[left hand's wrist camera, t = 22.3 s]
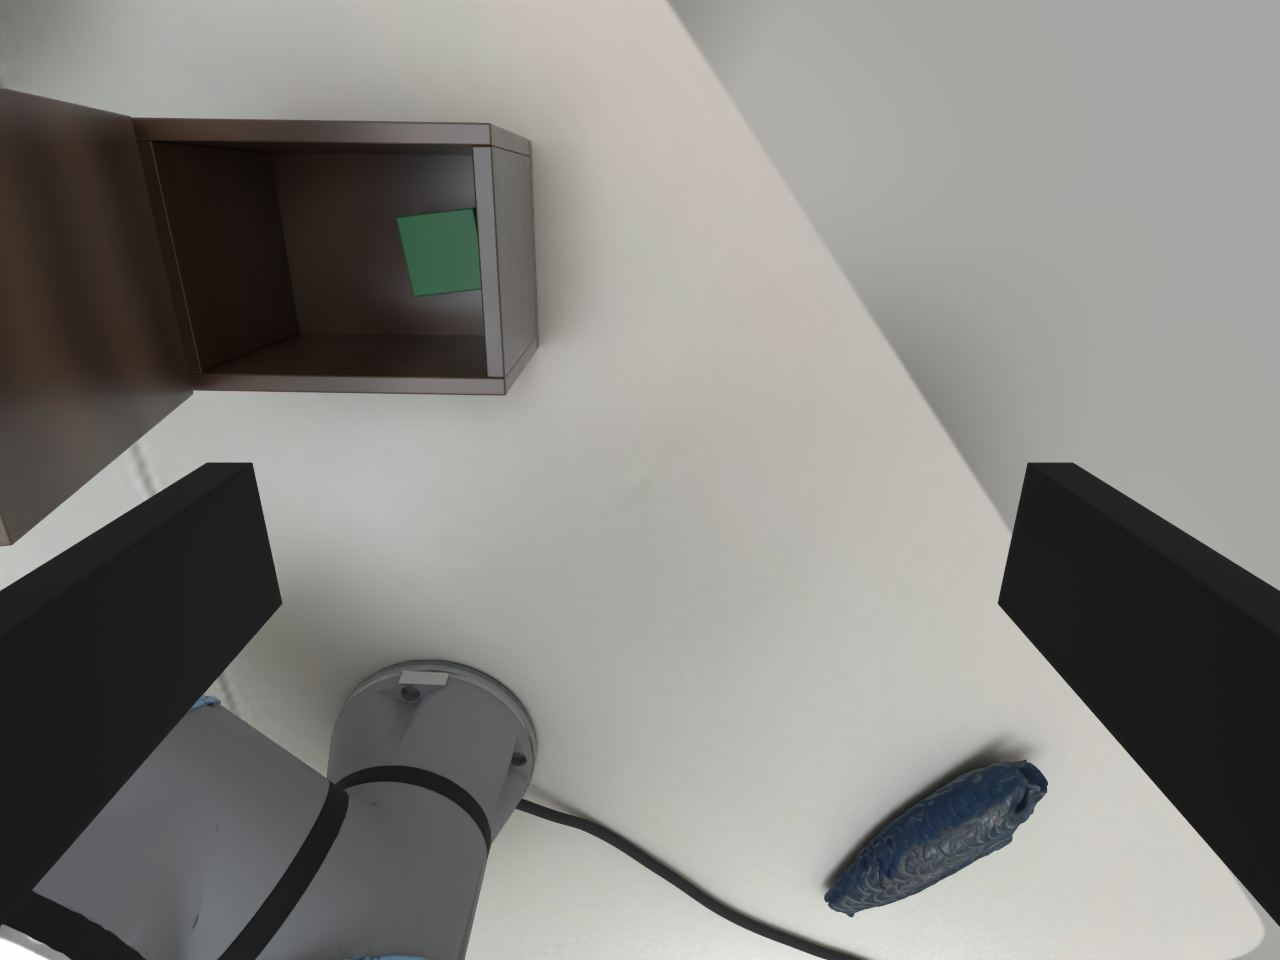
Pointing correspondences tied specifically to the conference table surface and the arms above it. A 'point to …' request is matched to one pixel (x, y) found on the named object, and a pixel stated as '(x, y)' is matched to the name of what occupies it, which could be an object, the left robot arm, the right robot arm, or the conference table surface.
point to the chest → (340, 253)
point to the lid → (76, 304)
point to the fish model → (940, 836)
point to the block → (441, 251)
